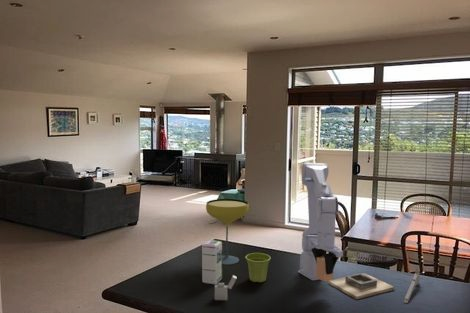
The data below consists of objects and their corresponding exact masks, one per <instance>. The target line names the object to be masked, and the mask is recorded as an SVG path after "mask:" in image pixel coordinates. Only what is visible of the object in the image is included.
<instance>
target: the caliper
mask: <svg viewBox="0 0 470 313" xmlns="http://www.w3.org/2000/svg"><path fill="white" fill-rule="evenodd" d="M419 284H420V268H417V267H416V268H415V273H414V274H413V277H412V280H411V283H410V286H409V287H408V290H407V292H406V295H405V297H404V300H403V303H405V304H408V302H410V299H411V297H412V294H413V291H414V289H415V287H416V286H419Z"/></svg>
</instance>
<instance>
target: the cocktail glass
mask: <svg viewBox="0 0 470 313" xmlns="http://www.w3.org/2000/svg"><path fill="white" fill-rule="evenodd" d="M249 208H250V206H249V202H248V201H245V200H242V199H234V198H219V199H212V200H211V199H210V200H208V201H207V202H206V205H205V210H206V212H207V214H208V215H209V216H210V217H212V218H213V219H216V220H218V221H220V222H221V223H222V224H223V225H224V226H225V228H226V230H225V231H226V233H225V234H226V235H225V254H224V255H222V266H229V265H235V264H238V263H239V262H240V259H239V257H237V256H233V255H229V251H228V250H229V249H228V248H229V247H228V246H229V243H228V237H229V236H228V235H229V232H228V230H229V227H230V225H231V224H232V223H233V222H235V221H237V220H240V219H241V218H243V217H245V216H246V215H247V214H248V212H249Z"/></svg>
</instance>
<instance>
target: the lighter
mask: <svg viewBox="0 0 470 313" xmlns="http://www.w3.org/2000/svg"><path fill="white" fill-rule="evenodd" d="M236 281H237V276H236V275H234V274H232V276H231V278H230V280H229V282H228V284H227V285H225V282H218V283H217V284H214V300H215V301H228V292H229V291H228V289H230V290H232V289H233V286H234V284H235V283H236Z"/></svg>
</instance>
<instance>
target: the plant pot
mask: <svg viewBox="0 0 470 313" xmlns="http://www.w3.org/2000/svg"><path fill="white" fill-rule="evenodd" d="M271 259H272V258H271V256H270V255H269V254H266V253H263V252H252V253H248V254H246V256H245V260H246V263H247V267H248V268H247V269H248V277H249V280H250V281H251V282H253V283H257V282H258V283H263V282H265V281H267V274H268V273H267V272H268V269H269V268H268V267H269V263H270V261H271Z"/></svg>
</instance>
